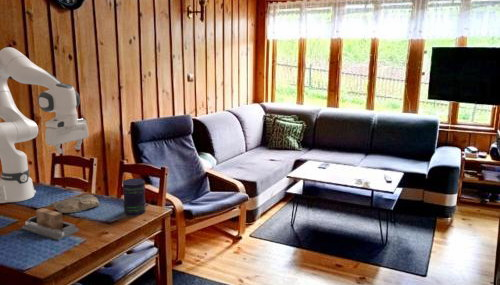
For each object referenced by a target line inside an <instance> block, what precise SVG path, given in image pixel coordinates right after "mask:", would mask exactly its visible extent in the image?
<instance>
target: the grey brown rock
mask: <svg viewBox="0 0 500 285" xmlns="http://www.w3.org/2000/svg"><path fill="white" fill-rule="evenodd" d="M99 205H100V201H99V200H98V197H97V196H95V195H94V194H85V195H80V196H74V197H70V198H68V199H64V200H60V201H58V202H56V203H55V204H54V205H53V208H54V209H55V210H57V212H59V213H62V214H63V213H64V214H74V213H73V212H75V213H79V212H78V211H80V212H82V210H83V211H86V210H90V209H93V208H96V207H98V206H99Z"/></svg>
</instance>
